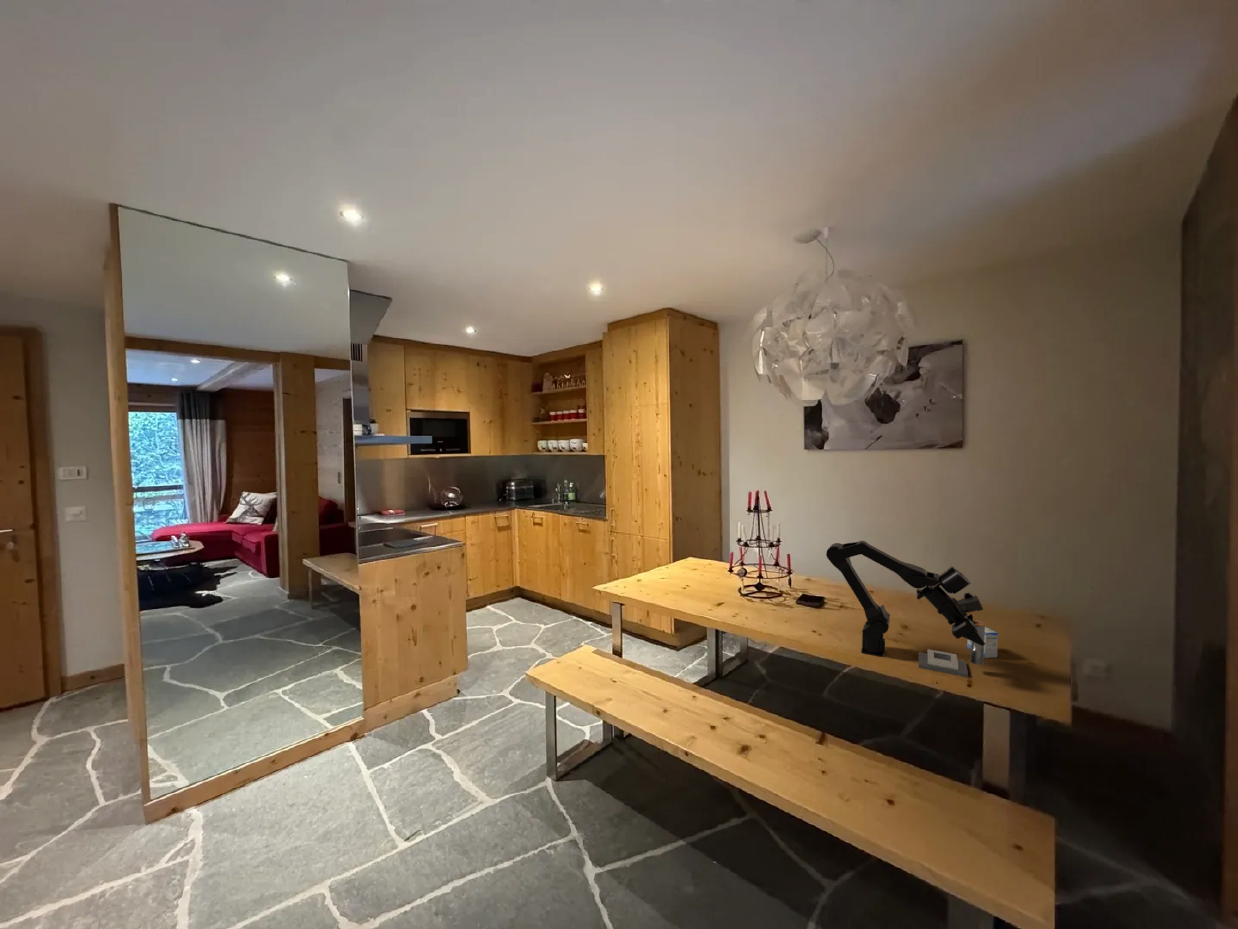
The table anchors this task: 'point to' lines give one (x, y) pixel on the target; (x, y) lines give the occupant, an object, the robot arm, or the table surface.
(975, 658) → the steel pin
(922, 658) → the plate
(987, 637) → the medicine box
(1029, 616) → the table surface
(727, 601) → the table surface
